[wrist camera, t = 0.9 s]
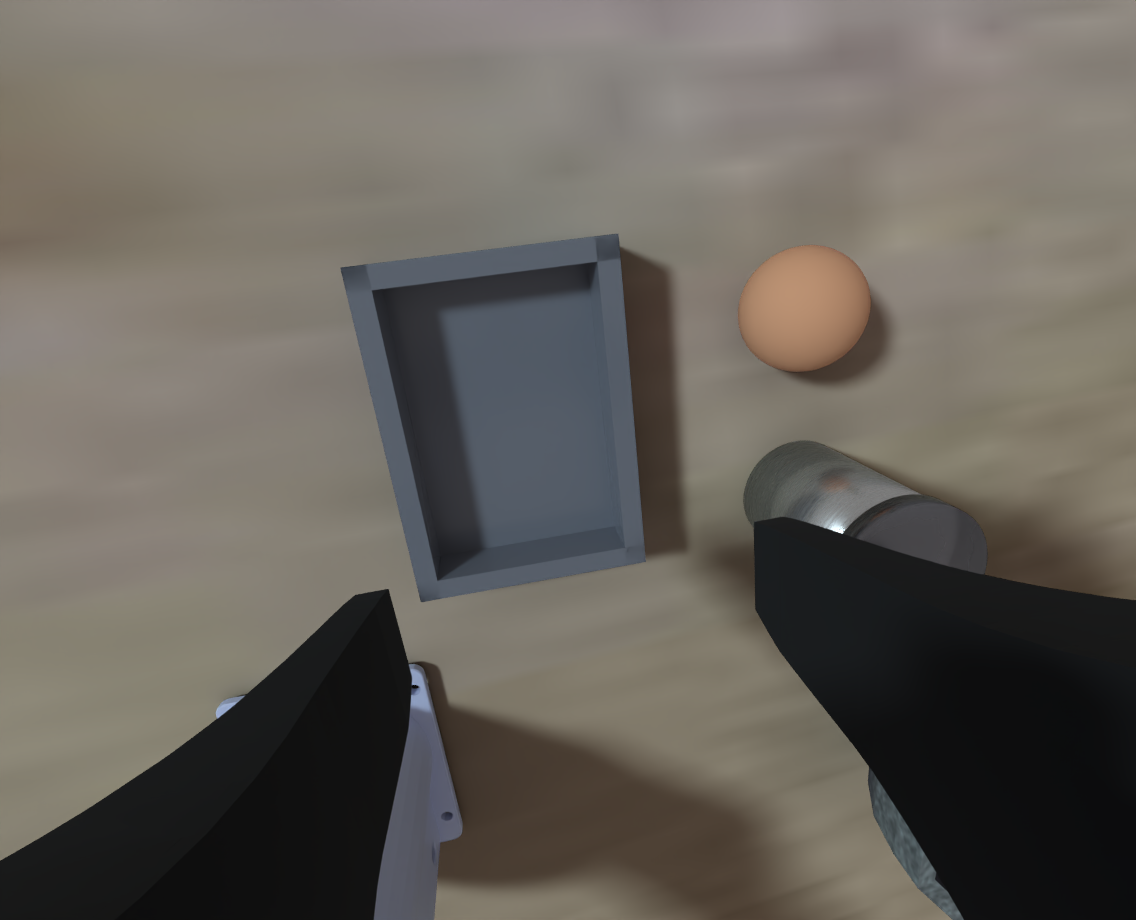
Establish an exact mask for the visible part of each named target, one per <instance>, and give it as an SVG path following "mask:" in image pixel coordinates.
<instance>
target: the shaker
mask: <svg viewBox="0 0 1136 920" xmlns="http://www.w3.org/2000/svg"><path fill="white" fill-rule="evenodd" d="M743 502H744V510H745V514H746V516H747V519H748V521H749V522H750V524H751V525H752V526H753V528H754V522H756V521H761V520H767V519H772V518H778V517H788V518H793V519H797V520H800V521H804V522H807V523H811V524H814V525H817V526H820V527H823V528H827V529H830V530H833V531H836V532H839V533H842V534H845V535H848V536H851V537H854V538H857V539H860V540H863V541H866V542H869V543H872V544H875V545H878V546H881V547H884V548H888V549H891V550H894V551H897V552H901V553H904V554H907V555H910V556H914V557H917V558H921V559H925V560H928V561H932V562H935V563H939V564H942V565H946V566H950V567H954V568H958V569H962V570H966V571H970V572H974V573H978V574H983V575H984V574H985V570H986V565H987V555H988V554H987V544H986V539H985V536H984V534H983V531H982V529H981V528H980V526H979V525H978V523H977V522H976V521H975V520H974V519H973V518H972V517H971V516H970V515H968V514H967V513H965V512H963V511H962V510H960V509H958V508H956V507H954V506H952V505H950V504H948V503H945V502H943V501H941V500H939V499H937V498H934V497H931V496H927V495H922V494H920V493H918V492H916V491H914V490H912V489H910V488H908V487H906V486H904V485H902V484H900V483H898V482H896V481H894V480H892V479H890V478H888V477H886V476H884V475H882V474H880V473H878V472H876V471H874V470H872V469H870V468H868V467H866V466H864V465H862V464H860V463H858V462H856V461H854V460H852V459H850V458H848V457H846V456H844V455H842V454H840V453H838V452H837V451H835V450H833V449H831V448H829V447H827V446H825V445H823V444H820V443H817V442H813V441H794V442H790V443H787V444H784V445H781V446H779V447H777V448H776V449H774V450H772V451H771V452H769V453H768V454H767V455H766V456H765V457H763V458H762V459H761V460H760V461H759V463H758V464H757V465H756V466H755V468H754V469H753V471H752V472H751V474H750V476H749V478H748V480H747V483H746V486H745V491H744V500H743Z"/></svg>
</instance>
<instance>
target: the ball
mask: <svg viewBox="0 0 1136 920" xmlns="http://www.w3.org/2000/svg"><path fill="white" fill-rule="evenodd" d="M870 308H871V297H870V290H869V286H868V283H867V280H866V278H865V276H864V274H863V273H862V271H861V269H860V268H859V267H858V266H857V264H856V263H855V262H854V261H853V260H851V259H850V258H849V257H847V256H846V255H844V254H843V253H841V252H839V251H837V250H835V249H832V248H828V247H824V246H817V245H805V246H798V247H794V248H790V249H787V250H784V251H782V252H780V253H778V254H776V255H774V256H772V257H771V258H769V259H768V260H766V261H765V262H764V263H763V264H762V265H761V266H760V267H759V268H758V269H757V270H756V271H755V272H754V273H753V274H752V276H751V277H750V278H749V280H748V282H747V283H746V285H745V287H744V290H743V292H742V295H741V298H740V302H739V308H738V322H739V328H740V332H741V334H742V337H743V339H744V341H745V343H746V345H747V346H748V348H749V349H750V351H751V352H752V353H753V354H754V355H755V356H756V357H757V358H759V359H760V360H761V361H763V362H764V363H766V364H768V365H770V366H772V367H774V368H777V369H780V370H785V371H790V372H803V371H811V370H816V369H819V368H822V367H825V366H827V365H829V364H831V363H833V362H835V361H836V360H838V359H839V358H841V357H842V356H844V355H845V354H846V353H847V352H848V351H849V350H850V349H851V348H852V347H853V346H854V345H855V344H856V342H857V341H858V340H859V338H860V337H861V335H862V333H863V331H864V329H865V327H866V325H867V322H868V319H869V315H870Z"/></svg>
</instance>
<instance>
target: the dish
mask: <svg viewBox="0 0 1136 920" xmlns="http://www.w3.org/2000/svg"><path fill="white" fill-rule="evenodd" d="M341 273H342V277H343V281H344V285H345V289H346V293H347V297H348V302H349V306H350V310H351V314H352V318H353V322H354V326H355V331H356V335H357V339H358V343H359V347H360V351H361V355H362V360H363V364H364V368H365V372H366V376H367V380H368V384H369V389H370V393H371V397H372V401H373V405H374V409H375V413H376V418H377V422H378V426H379V430H380V434H381V438H382V442H383V447H384V451H385V455H386V459H387V463H388V467H389V471H390V476H391V480H392V484H393V488H394V492H395V496H396V500H397V505H398V509H399V513H400V517H401V521H402V525H403V530H404V534H405V538H406V542H407V546H408V550H409V554H410V559H411V563H412V567H413V571H414V575H415V579H416V583H417V588H418V592H419V596H420V600H421V602H425V601H430V600H436V599H441V598H447V597H453V596H458V595H464V594H469V593H475V592H480V591H486V590H491V589H497V588H503V587H508V586H514V585H519V584H525V583H530V582H536V581H541V580H547V579H553V578H558V577H564V576H569V575H575V574H580V573H586V572H591V571H597V570H603V569H608V568H614V567H619V566H625V565H630V564H636V563H641V562H646V560H645V548H644V536H643V524H642V512H641V500H640V488H639V476H638V464H637V452H636V440H635V428H634V416H633V404H632V392H631V380H630V368H629V356H628V344H627V332H626V320H625V308H624V296H623V284H622V272H621V260H620V248H619V236H618V234H611V235H603V236H595V237H586V238H578V239H570V240H562V241H554V242H546V243H538V244H529V245H521V246H513V247H505V248H497V249H489V250H481V251H472V252H464V253H456V254H448V255H440V256H432V257H424V258H415V259H407V260H399V261H391V262H383V263H375V264H367V265H359V266H350V267H342V268H341Z"/></svg>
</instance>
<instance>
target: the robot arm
mask: <svg viewBox="0 0 1136 920" xmlns="http://www.w3.org/2000/svg"><path fill="white" fill-rule="evenodd" d="M754 556H755V609H756V611H757V613H758V615H759V617H760V618H761V620H762V622H763V624H764V625H765V627H766V629H767V631H768V633H769V634H770V636H771V638H772V639H773V641H774V643H775V644H776V646H777V647H778V649H779V651H780V652H781V653H782V655H783V656H784V657H785V659H786V660H787V661H788V663H789V664H790V665H791V667H792V668H793V669H794V670H795V672H796V673H797V674H798V676H799V677H800V678H801V680H802V681H803V682H804V683H805V685H806V686H807V687H808V688H809V690H810V691H811V692H812V693H813V695H814V696H815V697H816V699H817V700H818V701H819V702H820V704H821V705H822V706H823V707H824V709H825V710H826V711H827V712H828V714H829V715H830V716H831V717H832V719H833V720H834V721H835V723H836V724H837V725H838V726H839V728H840V729H841V730H842V731H843V733H844V734H845V735H846V736H847V738H848V739H849V740H850V742H851V743H852V744H853V745H854V747H855V748H856V749H857V751H858V752H859V753H860V755H861V756H862V758H863V759H864V760H865V762H866V763H867V764H868V766H869V767H870V769H871V770H872V771H873V773H874V774H875V776H876V778H877V779H878V781H879V782H880V784H881V785H882V787H883V788H884V790H885V792H886V793H887V795H888V796H889V798H890V799H891V801H892V802H893V804H894V805H895V807H896V809H897V810H898V812H899V813H900V815H901V816H902V818H903V819H904V821H905V823H906V824H907V826H908V827H909V829H910V831H911V832H912V834H913V836H914V837H915V839H916V840H917V842H918V844H919V845H920V847H921V849H922V850H923V852H924V853H925V855H926V857H927V858H928V860H929V862H930V863H931V865H932V867H933V868H934V870H935V871H936V873H937V875H938V876H939V878H940V880H941V881H942V883H943V885H944V886H945V888H946V890H947V891H948V893H949V895H950V897H951V898H952V900H953V902H954V903H955V905H956V907H957V909H958V910H959V912H960V914H961V916H962V917H963V919H964V920H1136V600H1128V599H1119V598H1111V597H1104V596H1098V595H1091V594H1085V593H1078V592H1072V591H1065V590H1059V589H1053V588H1047V587H1041V586H1036V585H1030V584H1025V583H1020V582H1015V581H1011V580H1006V579H1001V578H997V577H992V576H988V575H983V574H978V573H974V572H970V571H966V570H962V569H958V568H954V567H950V566H946V565H942V564H939V563H935V562H932V561H928V560H925V559H921V558H917V557H914V556H910V555H907V554H904V553H901V552H897V551H894V550H891V549H888V548H884V547H881V546H878V545H875V544H872V543H869V542H866V541H863V540H860V539H857V538H854V537H851V536H848V535H845V534H842V533H839V532H836V531H833V530H830V529H827V528H823V527H820V526H817V525H814V524H811V523H807V522H804V521H800V520H797V519H793V518H788V517H778V518H772V519H767V520H761V521H756V522H754ZM412 685H417V686H419V688H417V689H413V688H412ZM216 717H217V719H216V720H215V721H214V722H212V723H211V724H210V725H209V726H207V727H206V728H205V729H203V730H202V731H201V732H199V733H198V734H197V735H195V736H194V737H193V738H191V739H190V740H189V741H187V742H186V743H185V744H183V745H182V746H181V747H179V748H178V749H177V750H175V751H174V752H172V753H171V754H170V755H168V756H167V757H165V758H164V759H163V760H161V761H160V762H158V763H157V764H155V765H154V766H152V767H151V768H149V769H148V770H146V771H145V772H143V773H142V774H140V775H138V776H137V777H135V778H134V779H132V780H131V781H129V782H128V783H126V784H125V785H123V786H122V787H120V788H119V789H117V790H116V791H114V792H113V793H111V794H110V795H108V796H107V797H105V798H104V799H102V800H101V801H99V802H98V803H96V804H95V805H93V806H92V807H90V808H89V809H87V810H85V811H84V812H82V813H81V814H79V815H77V816H76V817H74V818H72V819H71V820H69V821H67V822H66V823H64V824H62V825H61V826H59V827H57V828H56V829H54V830H52V831H51V832H49V833H47V834H46V835H44V836H43V837H41V838H39V839H37V840H36V841H34V842H32V843H30V844H29V845H27V846H25V847H24V848H22V849H20V850H18V851H17V852H15V853H13V854H11V855H10V856H8V857H6V858H4V859H3V860H1V861H0V920H434V915H435V903H436V890H437V877H438V865H439V852H440V842H445V841H449V840H453V839H456V838H458V837H459V836H460V835H461V834H462V828H463V822H462V818H461V814H460V810H459V806H458V802H457V798H456V794H455V790H454V786H453V782H452V778H451V774H450V770H449V766H448V762H447V758H446V755H445V751H444V747H443V743H442V739H441V735H440V731H439V727H438V723H437V719H436V715H435V711H434V707H433V703H432V699H431V695H430V691H429V687H428V683H427V679H426V675H425V671H424V669H423V668H422V667H421V666H419V665H416V664H408V660H407V656H406V653H405V649H404V645H403V641H402V638H401V634H400V630H399V627H398V623H397V619H396V615H395V612H394V608H393V604H392V601H391V597H390V593H389V589H385V590H380V591H374V592H369V593H364V594H358V595H355V596H354V597H352V598H351V599H350V600H349V601H347V602H346V603H345V604H344V605H343V606H342V607H341V608H340V609H339V610H338V611H337V612H335V613H334V614H333V615H332V616H331V617H330V618H329V619H328V620H327V621H326V622H325V623H324V624H323V625H322V626H321V627H320V628H319V629H318V630H317V631H316V632H315V633H314V634H313V635H312V636H310V637H309V638H308V639H307V640H306V641H305V642H304V643H303V644H302V645H301V646H300V647H299V648H298V649H297V650H296V651H295V652H294V653H293V654H292V655H291V656H289V657H288V658H287V659H286V660H285V661H284V662H283V663H282V664H281V665H280V666H278V667H277V668H276V669H275V670H274V671H273V672H272V673H270V674H269V675H268V676H267V677H266V678H265V679H264V680H262V681H261V682H260V683H259V684H258V685H257V686H256V687H255V688H253V689H252V690H251V691H250V692H249V693H248V694H247V695H245V696H239V697H234V698H229V699H226V700H224V701H223V702H222V703H221V704H220V705H219V707H218V709H217V711H216ZM445 812H449V813H445Z"/></svg>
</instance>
